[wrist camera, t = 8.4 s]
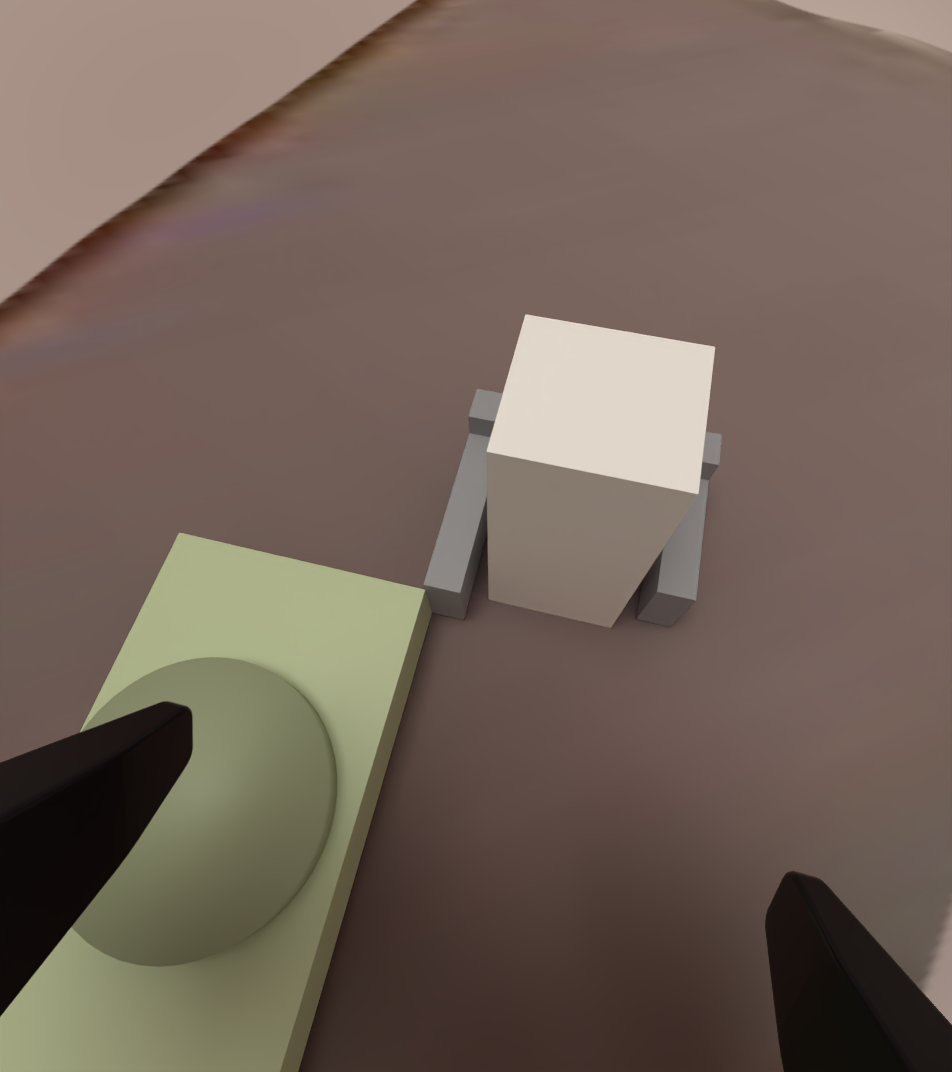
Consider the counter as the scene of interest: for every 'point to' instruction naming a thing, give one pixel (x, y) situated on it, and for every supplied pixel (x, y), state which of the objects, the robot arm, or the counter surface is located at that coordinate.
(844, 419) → the counter surface
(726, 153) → the counter surface
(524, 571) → the white block
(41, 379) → the counter surface
